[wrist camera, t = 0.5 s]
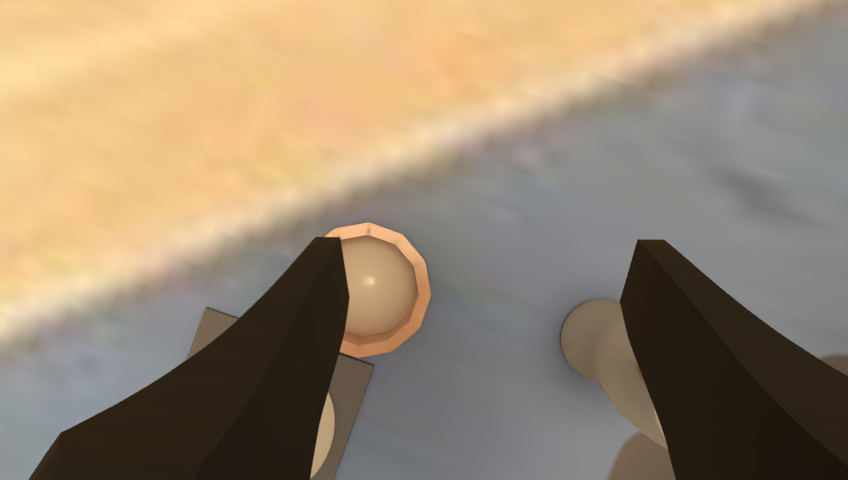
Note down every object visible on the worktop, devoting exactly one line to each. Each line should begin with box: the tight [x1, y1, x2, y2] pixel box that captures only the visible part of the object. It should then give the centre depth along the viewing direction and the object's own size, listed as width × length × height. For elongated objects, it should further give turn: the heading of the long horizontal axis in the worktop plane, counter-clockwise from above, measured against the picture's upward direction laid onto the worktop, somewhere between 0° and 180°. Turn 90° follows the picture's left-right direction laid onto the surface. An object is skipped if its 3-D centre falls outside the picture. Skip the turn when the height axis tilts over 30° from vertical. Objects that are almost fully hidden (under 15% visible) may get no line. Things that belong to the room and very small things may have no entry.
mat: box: [187, 307, 374, 480], centre depth 38 cm, size 13×13×1 cm
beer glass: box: [561, 299, 668, 449], centre depth 32 cm, size 7×7×15 cm
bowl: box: [325, 223, 431, 358], centre depth 36 cm, size 9×9×4 cm
